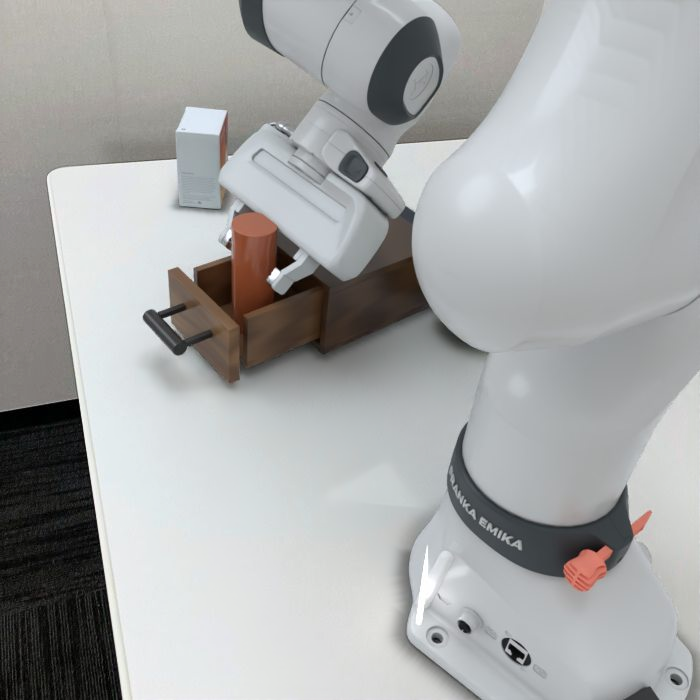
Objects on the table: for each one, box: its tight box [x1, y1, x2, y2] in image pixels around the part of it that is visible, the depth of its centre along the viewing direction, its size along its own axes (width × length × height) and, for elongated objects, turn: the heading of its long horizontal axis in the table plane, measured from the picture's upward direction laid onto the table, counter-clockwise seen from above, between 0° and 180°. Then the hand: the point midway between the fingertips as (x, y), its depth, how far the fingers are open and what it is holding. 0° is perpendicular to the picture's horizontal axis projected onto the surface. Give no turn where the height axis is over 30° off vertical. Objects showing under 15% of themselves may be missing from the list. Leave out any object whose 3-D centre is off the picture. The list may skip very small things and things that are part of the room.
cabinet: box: [277, 216, 431, 355], centre depth 86 cm, size 16×13×9 cm
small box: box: [174, 106, 229, 210], centre depth 101 cm, size 8×6×10 cm
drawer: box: [142, 252, 324, 385], centre depth 79 cm, size 19×11×7 cm, turn 129°
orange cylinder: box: [230, 212, 278, 334], centre depth 77 cm, size 4×4×12 cm
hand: (248, 267), depth 76 cm, fingers open, 7 cm apart
